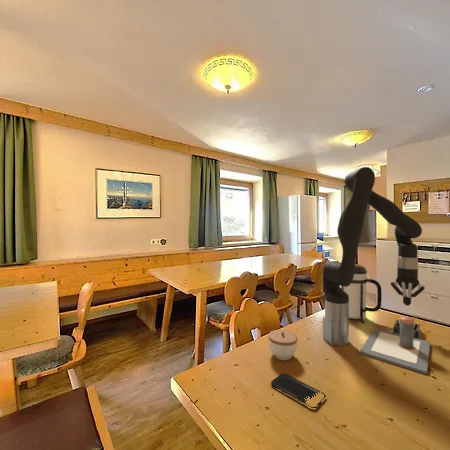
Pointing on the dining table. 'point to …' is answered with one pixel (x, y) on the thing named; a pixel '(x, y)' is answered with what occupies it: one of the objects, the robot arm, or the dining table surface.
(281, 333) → the lidded jar
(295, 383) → the phone
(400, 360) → the drawing board
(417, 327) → the button housing
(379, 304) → the coffee press
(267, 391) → the dining table surface
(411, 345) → the grey cylindrical piece
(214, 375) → the dining table surface
